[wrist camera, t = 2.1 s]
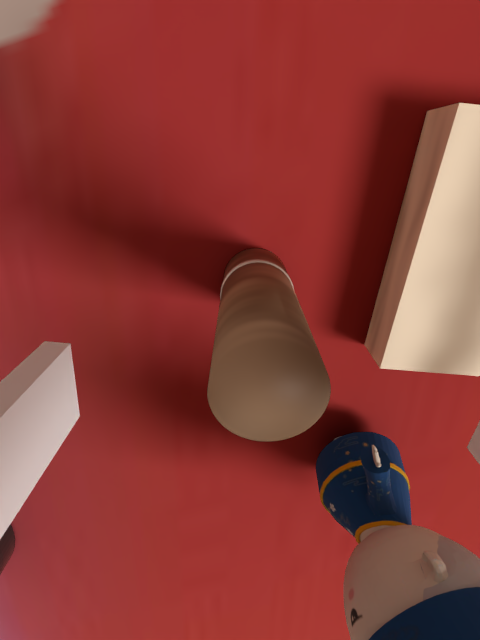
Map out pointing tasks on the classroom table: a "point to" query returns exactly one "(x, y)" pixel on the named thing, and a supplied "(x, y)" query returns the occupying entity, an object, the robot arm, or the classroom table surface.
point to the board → (435, 255)
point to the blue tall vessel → (394, 550)
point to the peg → (264, 354)
